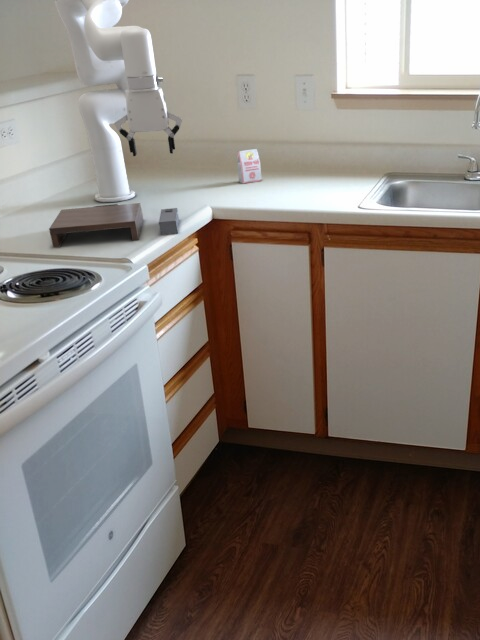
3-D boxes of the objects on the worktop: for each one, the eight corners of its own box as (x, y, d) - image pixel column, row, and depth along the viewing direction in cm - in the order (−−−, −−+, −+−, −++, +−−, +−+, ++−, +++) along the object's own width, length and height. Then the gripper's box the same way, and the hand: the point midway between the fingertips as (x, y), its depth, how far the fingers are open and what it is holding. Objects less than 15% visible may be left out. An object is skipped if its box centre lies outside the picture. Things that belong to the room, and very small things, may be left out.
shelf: (65, 227, 215) (61, 209, 213) (143, 220, 217) (140, 202, 215) (53, 247, 198) (48, 228, 196) (138, 240, 200) (134, 221, 198)
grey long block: (163, 221, 215) (161, 208, 213) (179, 220, 216) (177, 207, 214) (160, 235, 203) (158, 221, 201) (177, 233, 204) (175, 220, 202)
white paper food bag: (239, 181, 255) (235, 150, 250) (257, 178, 257) (254, 147, 252) (242, 183, 252) (239, 152, 247) (261, 180, 254) (258, 149, 249)
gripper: (177, 79, 196) (186, 148, 205) (109, 83, 194) (121, 153, 203) (176, 83, 190) (186, 154, 199) (106, 87, 188) (119, 159, 197)
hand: (153, 153), depth 201 cm, fingers open, 9 cm apart
